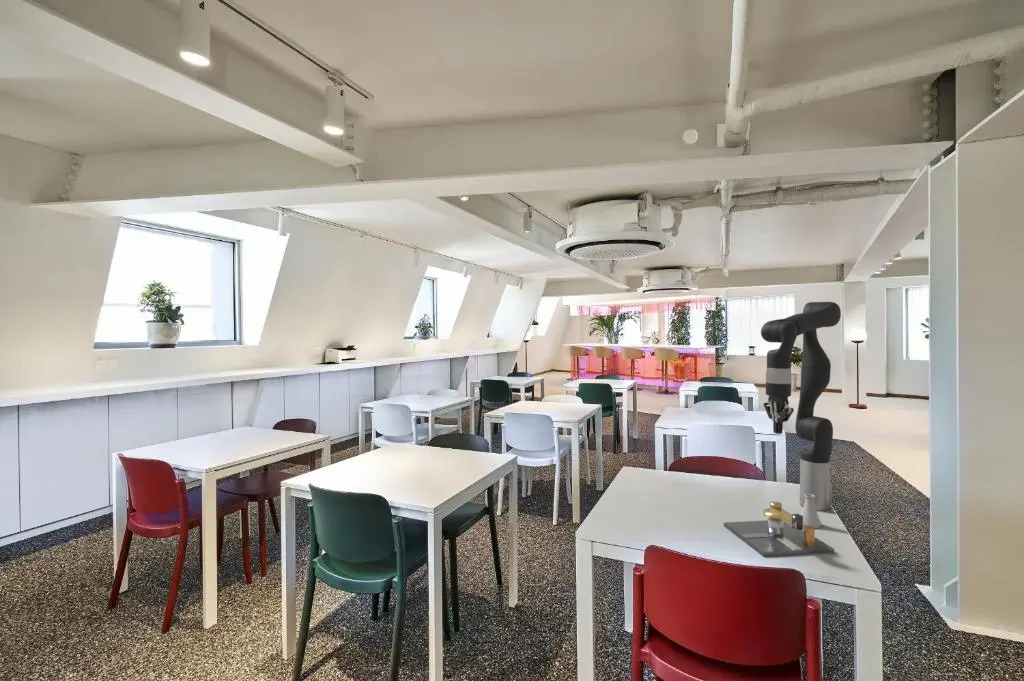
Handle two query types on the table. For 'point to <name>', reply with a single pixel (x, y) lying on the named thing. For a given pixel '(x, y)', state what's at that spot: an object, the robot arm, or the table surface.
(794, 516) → the brass lever handle
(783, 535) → the lock base
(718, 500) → the table surface
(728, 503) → the table surface
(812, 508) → the flask
